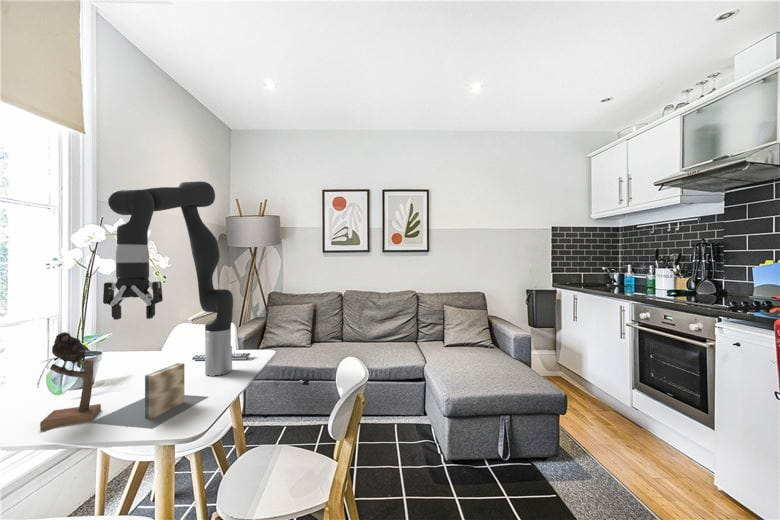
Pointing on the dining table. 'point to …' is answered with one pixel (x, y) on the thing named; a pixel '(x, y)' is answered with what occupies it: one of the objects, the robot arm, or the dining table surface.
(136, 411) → the mat
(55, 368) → the bird figurine
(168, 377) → the board
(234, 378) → the dining table surface
